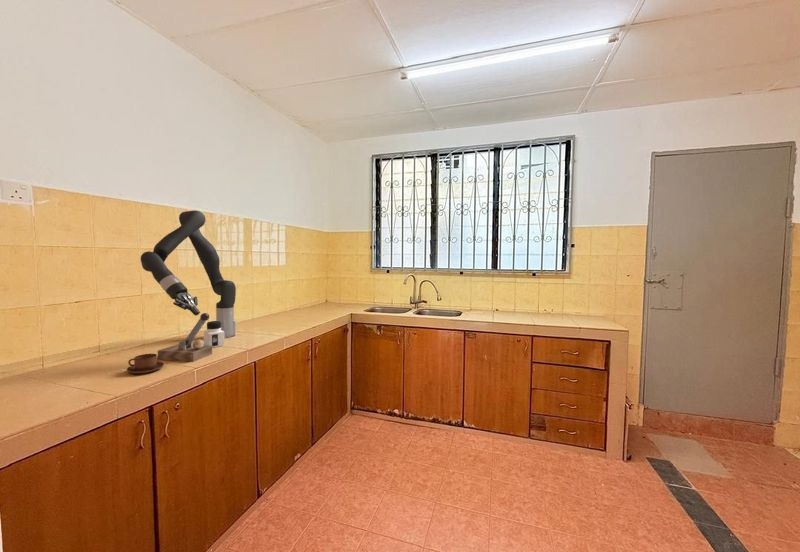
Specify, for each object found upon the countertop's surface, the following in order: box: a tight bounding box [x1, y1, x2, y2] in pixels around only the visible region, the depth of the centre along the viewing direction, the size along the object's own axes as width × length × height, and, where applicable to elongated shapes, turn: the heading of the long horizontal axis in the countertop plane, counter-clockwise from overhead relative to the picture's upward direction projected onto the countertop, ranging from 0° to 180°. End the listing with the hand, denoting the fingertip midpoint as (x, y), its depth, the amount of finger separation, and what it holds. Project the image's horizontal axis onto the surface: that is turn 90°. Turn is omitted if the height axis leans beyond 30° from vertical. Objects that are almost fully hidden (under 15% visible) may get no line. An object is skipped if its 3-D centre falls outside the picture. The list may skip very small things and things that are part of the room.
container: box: [203, 320, 225, 349], centre depth 173 cm, size 8×8×13 cm
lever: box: [184, 312, 210, 348], centre depth 153 cm, size 4×4×20 cm
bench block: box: [157, 338, 213, 363], centre depth 154 cm, size 18×12×8 cm, turn 83°
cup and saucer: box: [126, 353, 165, 375], centre depth 134 cm, size 12×12×6 cm
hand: (197, 314), depth 152 cm, fingers closed
